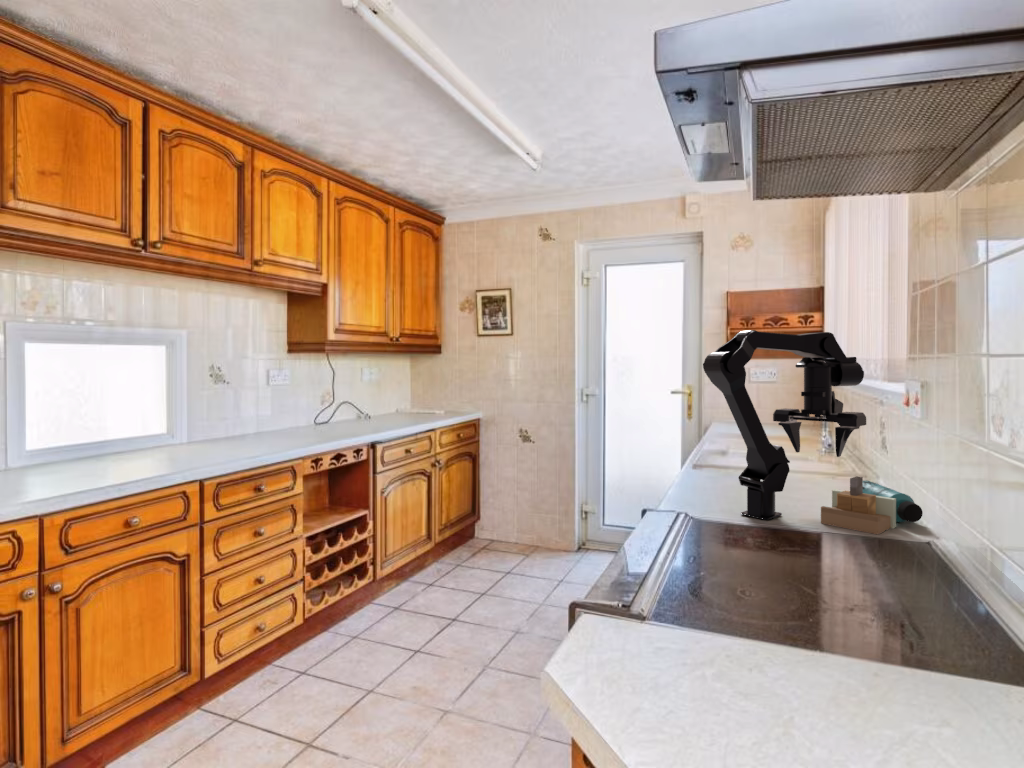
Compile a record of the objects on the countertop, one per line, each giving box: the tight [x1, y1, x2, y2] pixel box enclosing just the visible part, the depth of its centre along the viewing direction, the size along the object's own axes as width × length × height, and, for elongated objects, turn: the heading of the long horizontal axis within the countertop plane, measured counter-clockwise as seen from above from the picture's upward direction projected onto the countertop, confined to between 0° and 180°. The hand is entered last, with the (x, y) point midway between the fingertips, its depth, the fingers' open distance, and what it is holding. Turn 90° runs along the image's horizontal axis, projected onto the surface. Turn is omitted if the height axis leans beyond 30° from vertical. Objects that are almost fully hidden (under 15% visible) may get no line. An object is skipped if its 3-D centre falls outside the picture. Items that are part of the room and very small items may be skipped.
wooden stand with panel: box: [820, 489, 897, 535], centre depth 123 cm, size 8×12×6 cm, turn 38°
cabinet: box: [837, 475, 876, 515], centre depth 123 cm, size 4×6×8 cm
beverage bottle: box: [863, 479, 923, 523], centre depth 130 cm, size 6×7×20 cm
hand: (817, 454), depth 136 cm, fingers open, 9 cm apart
